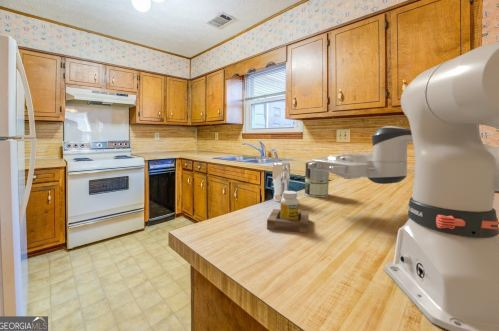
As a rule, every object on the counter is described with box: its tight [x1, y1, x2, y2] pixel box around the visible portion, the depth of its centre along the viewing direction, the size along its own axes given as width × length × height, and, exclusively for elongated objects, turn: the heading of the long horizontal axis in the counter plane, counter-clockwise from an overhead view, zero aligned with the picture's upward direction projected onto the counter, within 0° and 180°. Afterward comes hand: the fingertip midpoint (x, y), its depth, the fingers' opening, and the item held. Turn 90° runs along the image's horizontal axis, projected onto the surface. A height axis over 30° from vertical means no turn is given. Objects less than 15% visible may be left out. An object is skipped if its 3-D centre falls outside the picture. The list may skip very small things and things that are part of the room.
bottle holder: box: [266, 208, 310, 234], centre depth 73 cm, size 11×11×2 cm
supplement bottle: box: [280, 190, 300, 220], centre depth 73 cm, size 5×5×10 cm
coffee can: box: [304, 161, 330, 198], centre depth 110 cm, size 10×10×14 cm
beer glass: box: [272, 162, 291, 203], centre depth 100 cm, size 7×7×15 cm
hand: (319, 167), depth 78 cm, fingers open, 8 cm apart
